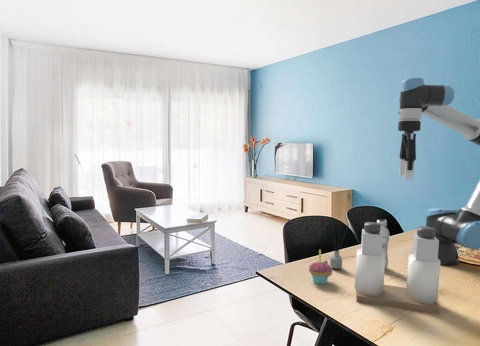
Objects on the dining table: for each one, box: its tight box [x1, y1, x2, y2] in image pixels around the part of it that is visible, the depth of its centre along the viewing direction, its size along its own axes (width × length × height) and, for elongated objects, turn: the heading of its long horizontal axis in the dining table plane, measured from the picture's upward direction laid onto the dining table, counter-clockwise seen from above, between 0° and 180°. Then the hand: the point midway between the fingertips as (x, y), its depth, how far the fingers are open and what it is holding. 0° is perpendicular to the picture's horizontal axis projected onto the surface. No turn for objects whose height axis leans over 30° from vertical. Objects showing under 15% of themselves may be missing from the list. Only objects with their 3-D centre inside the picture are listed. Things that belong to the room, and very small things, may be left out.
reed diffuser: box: [322, 219, 350, 270], centre depth 136 cm, size 10×7×20 cm
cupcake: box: [308, 250, 334, 285], centre depth 124 cm, size 9×8×12 cm
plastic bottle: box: [376, 219, 390, 270], centre depth 137 cm, size 6×7×20 cm
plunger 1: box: [363, 221, 381, 233], centre depth 112 cm, size 5×5×9 cm
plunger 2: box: [416, 225, 436, 238], centre depth 107 cm, size 5×5×9 cm
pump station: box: [354, 228, 441, 315], centre depth 111 cm, size 25×12×22 cm, turn 73°
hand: (405, 177), depth 129 cm, fingers open, 12 cm apart
